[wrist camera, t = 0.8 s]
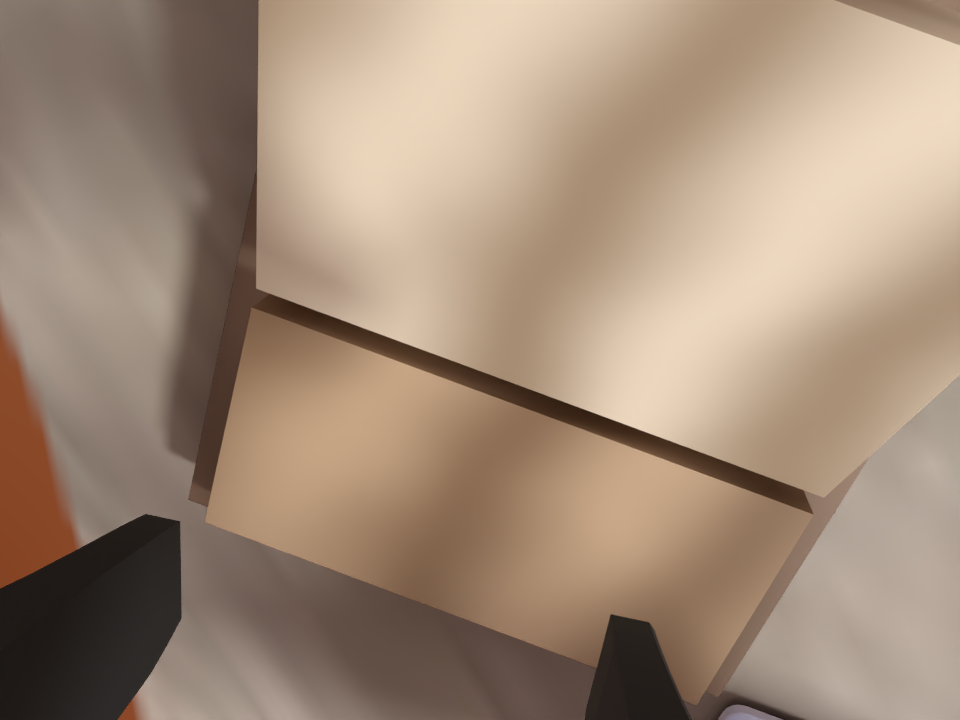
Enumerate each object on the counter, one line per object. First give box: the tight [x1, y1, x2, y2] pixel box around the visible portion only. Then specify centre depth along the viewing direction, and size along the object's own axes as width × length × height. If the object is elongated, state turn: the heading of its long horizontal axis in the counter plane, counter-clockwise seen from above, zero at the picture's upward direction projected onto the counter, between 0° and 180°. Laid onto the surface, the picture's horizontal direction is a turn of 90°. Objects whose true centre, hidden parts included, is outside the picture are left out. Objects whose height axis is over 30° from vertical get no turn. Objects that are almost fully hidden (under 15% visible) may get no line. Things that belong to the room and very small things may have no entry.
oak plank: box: [256, 0, 960, 498], centre depth 15 cm, size 14×10×1 cm
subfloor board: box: [188, 0, 960, 705], centre depth 19 cm, size 16×20×3 cm
